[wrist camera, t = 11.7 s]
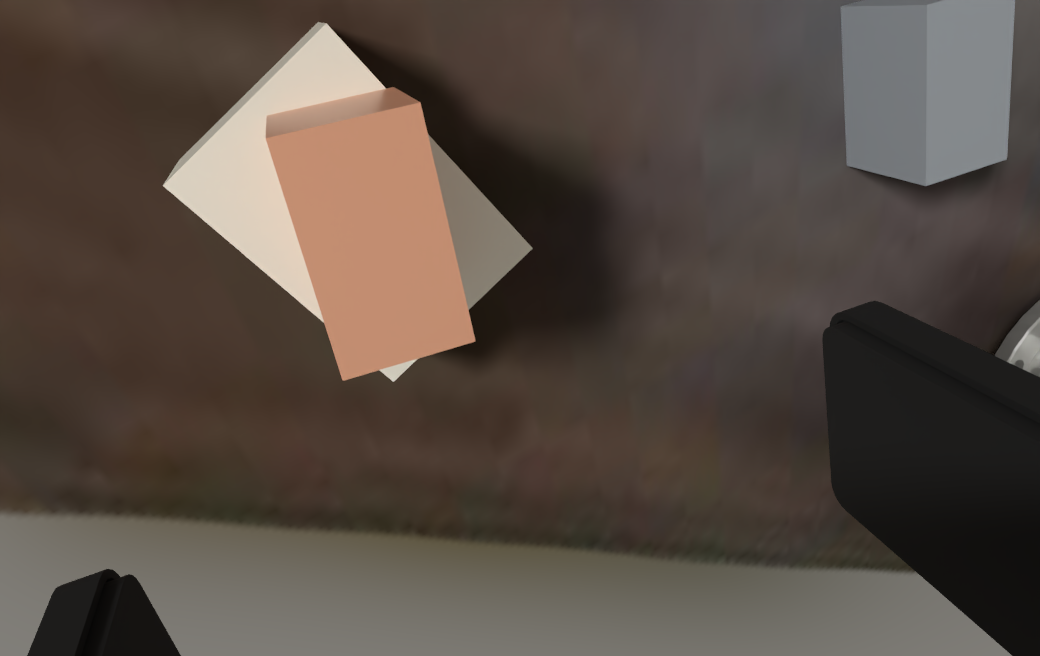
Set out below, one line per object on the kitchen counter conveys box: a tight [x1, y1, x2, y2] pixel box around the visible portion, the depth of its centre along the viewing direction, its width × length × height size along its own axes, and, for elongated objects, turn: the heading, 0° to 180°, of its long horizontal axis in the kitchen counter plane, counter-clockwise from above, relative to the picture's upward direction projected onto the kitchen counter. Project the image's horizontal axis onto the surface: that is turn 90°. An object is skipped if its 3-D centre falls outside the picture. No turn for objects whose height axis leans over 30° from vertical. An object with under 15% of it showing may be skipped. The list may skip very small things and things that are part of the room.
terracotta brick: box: [266, 87, 475, 381], centre depth 23 cm, size 7×4×5 cm, turn 11°
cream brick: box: [163, 22, 533, 382], centre depth 28 cm, size 10×7×5 cm
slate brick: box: [841, 0, 1015, 186], centre depth 33 cm, size 7×4×5 cm, turn 13°
